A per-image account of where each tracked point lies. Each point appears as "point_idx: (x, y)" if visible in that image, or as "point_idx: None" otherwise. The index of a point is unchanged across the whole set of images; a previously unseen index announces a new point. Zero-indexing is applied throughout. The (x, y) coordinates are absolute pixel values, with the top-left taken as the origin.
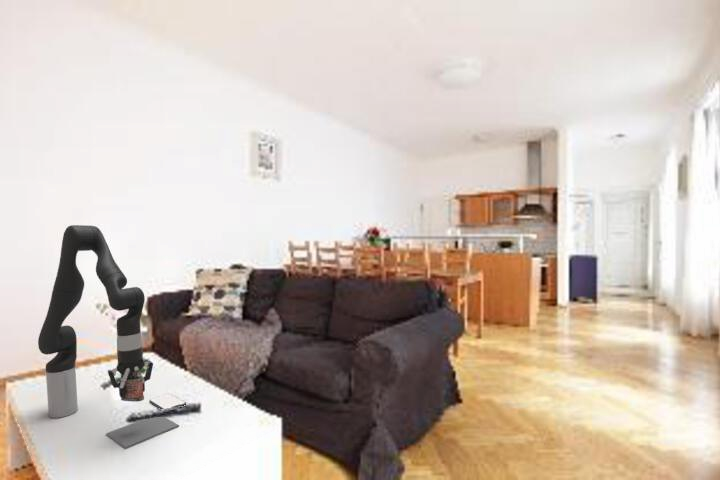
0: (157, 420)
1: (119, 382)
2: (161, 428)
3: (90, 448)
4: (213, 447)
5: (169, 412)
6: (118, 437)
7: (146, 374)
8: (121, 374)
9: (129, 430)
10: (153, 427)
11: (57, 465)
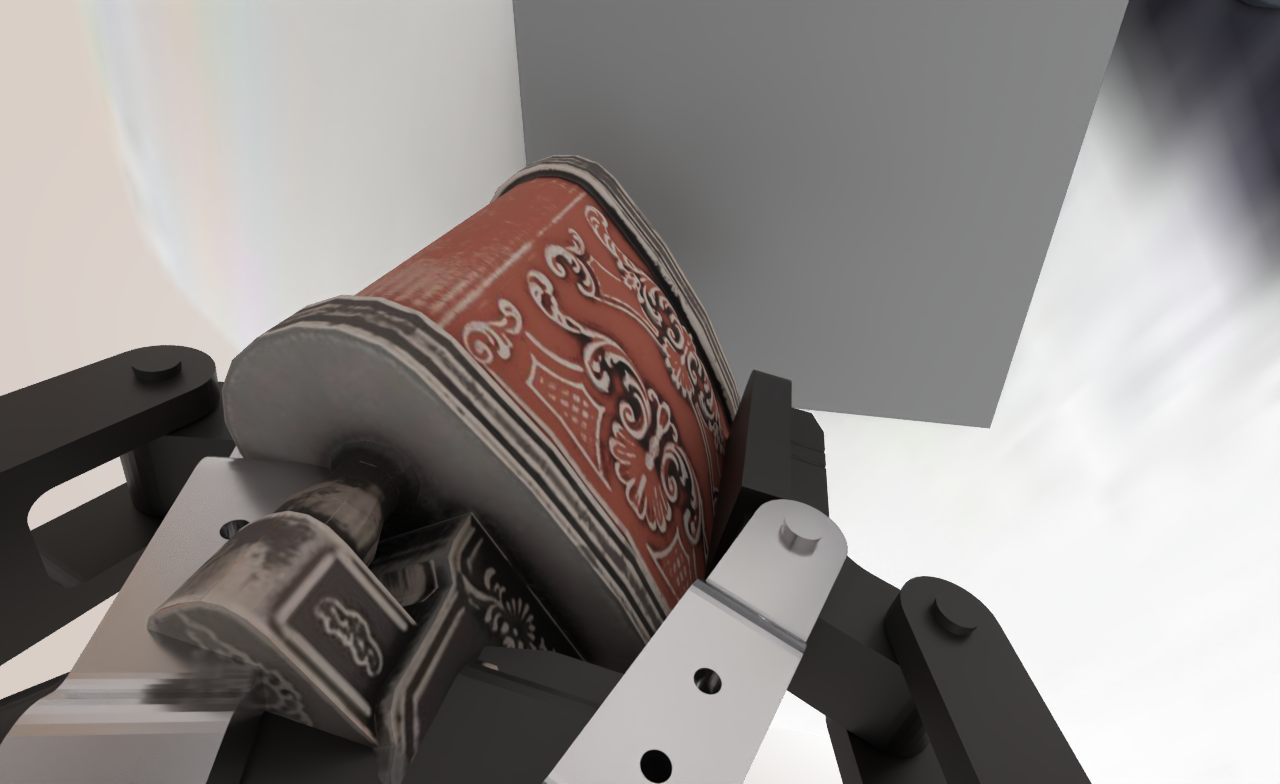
0: (974, 164)
1: None
2: (869, 355)
3: (366, 134)
4: None
5: (1257, 16)
6: None
7: (937, 702)
8: (151, 568)
9: (683, 131)
10: (845, 278)
11: (171, 191)
